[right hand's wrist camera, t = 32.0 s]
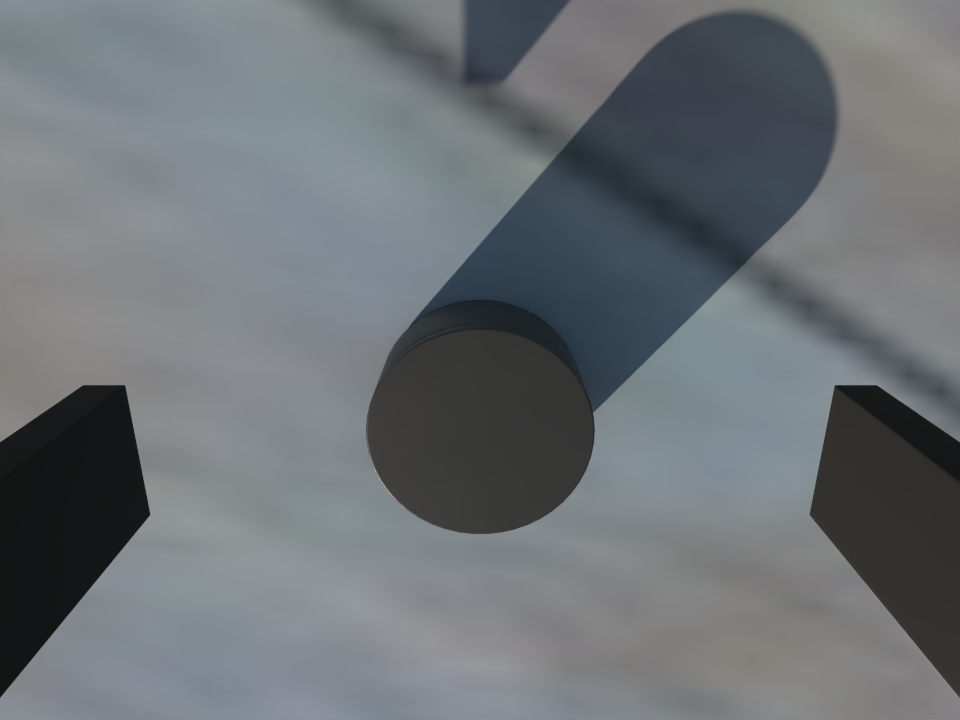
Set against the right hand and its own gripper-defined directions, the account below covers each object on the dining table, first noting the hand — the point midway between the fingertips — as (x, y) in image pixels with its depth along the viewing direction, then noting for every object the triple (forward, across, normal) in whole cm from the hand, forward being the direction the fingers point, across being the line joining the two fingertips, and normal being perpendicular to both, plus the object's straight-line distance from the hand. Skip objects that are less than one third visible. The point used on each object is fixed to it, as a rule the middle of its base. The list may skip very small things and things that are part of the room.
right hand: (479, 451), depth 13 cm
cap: (+1, 0, 0) cm, 1 cm away
